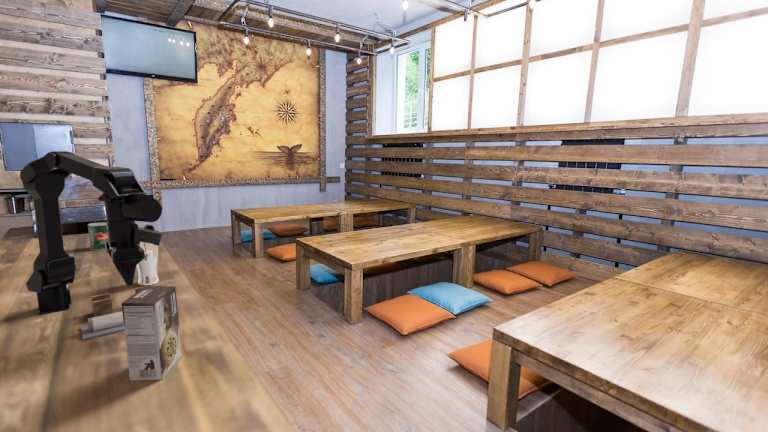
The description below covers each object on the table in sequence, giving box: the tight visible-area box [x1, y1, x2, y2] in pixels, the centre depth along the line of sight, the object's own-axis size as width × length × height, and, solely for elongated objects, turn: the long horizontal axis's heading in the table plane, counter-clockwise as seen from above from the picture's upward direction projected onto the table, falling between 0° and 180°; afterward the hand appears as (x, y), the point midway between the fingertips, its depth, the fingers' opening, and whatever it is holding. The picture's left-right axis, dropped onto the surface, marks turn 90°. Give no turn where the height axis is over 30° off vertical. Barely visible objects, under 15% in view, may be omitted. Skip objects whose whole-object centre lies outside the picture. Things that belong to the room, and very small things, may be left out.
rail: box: [87, 310, 124, 333], centre depth 99 cm, size 17×3×3 cm, turn 130°
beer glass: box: [136, 242, 160, 286], centre depth 127 cm, size 7×7×15 cm
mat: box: [80, 324, 125, 341], centre depth 99 cm, size 20×8×1 cm, turn 130°
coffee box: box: [121, 285, 183, 382], centre depth 78 cm, size 9×6×16 cm
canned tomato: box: [87, 221, 111, 251], centre depth 170 cm, size 8×8×11 cm
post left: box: [91, 292, 114, 317], centre depth 103 cm, size 4×5×5 cm
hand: (127, 280), depth 97 cm, fingers open, 9 cm apart
